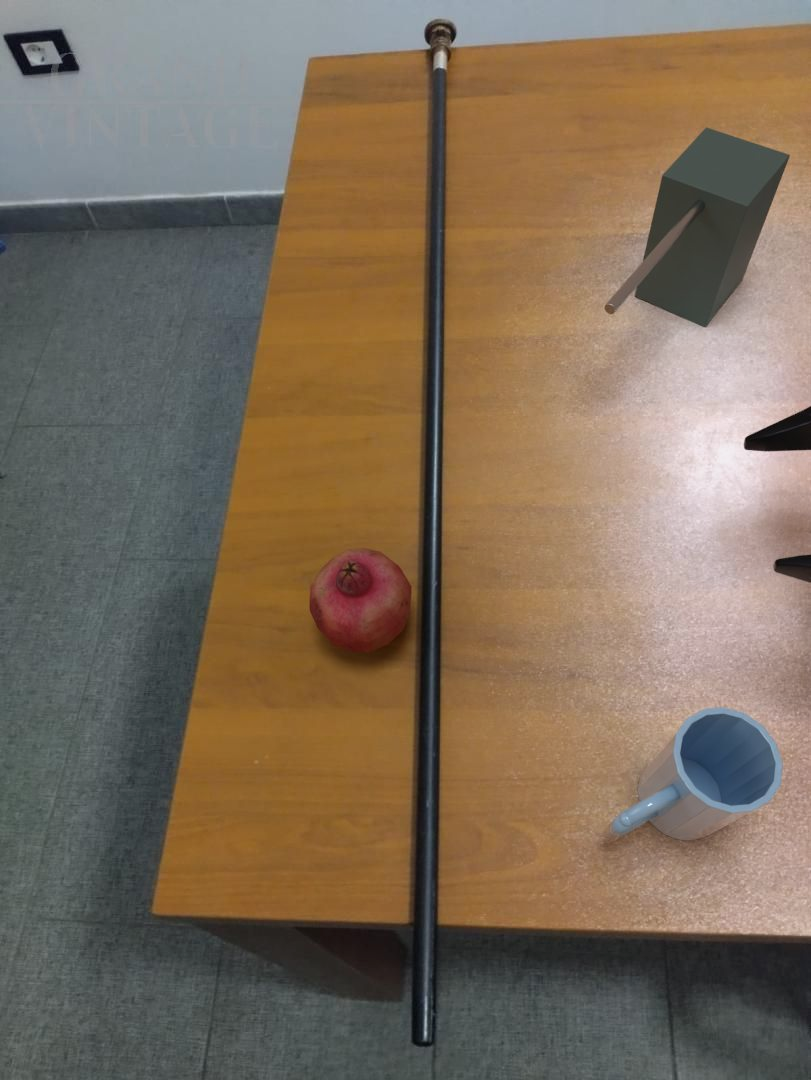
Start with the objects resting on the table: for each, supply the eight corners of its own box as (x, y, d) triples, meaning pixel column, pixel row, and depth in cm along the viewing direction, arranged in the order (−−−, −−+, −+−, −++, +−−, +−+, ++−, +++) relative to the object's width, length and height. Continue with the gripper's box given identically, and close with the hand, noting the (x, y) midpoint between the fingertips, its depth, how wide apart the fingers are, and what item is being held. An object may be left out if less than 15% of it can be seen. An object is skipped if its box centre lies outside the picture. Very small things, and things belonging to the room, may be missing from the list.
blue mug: (689, 739, 56) (736, 690, 45) (742, 814, 53) (805, 780, 43) (575, 804, 54) (596, 768, 44) (623, 884, 52) (658, 867, 41)
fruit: (435, 632, 62) (427, 579, 53) (352, 685, 60) (330, 640, 52) (383, 561, 66) (368, 501, 57) (304, 610, 64) (276, 556, 55)
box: (555, 389, 73) (569, 276, 61) (672, 251, 81) (706, 126, 68) (627, 426, 70) (657, 315, 58) (742, 280, 78) (790, 154, 65)
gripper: (1044, 254, 42) (746, 303, 46) (1210, 546, 33) (823, 578, 36) (967, 383, 51) (725, 415, 55) (1080, 637, 42) (782, 656, 46)
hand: (758, 501), depth 48 cm, fingers open, 9 cm apart
